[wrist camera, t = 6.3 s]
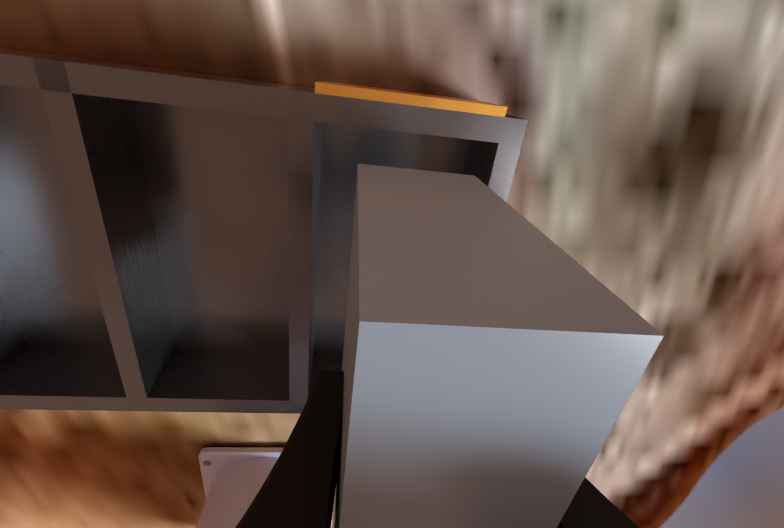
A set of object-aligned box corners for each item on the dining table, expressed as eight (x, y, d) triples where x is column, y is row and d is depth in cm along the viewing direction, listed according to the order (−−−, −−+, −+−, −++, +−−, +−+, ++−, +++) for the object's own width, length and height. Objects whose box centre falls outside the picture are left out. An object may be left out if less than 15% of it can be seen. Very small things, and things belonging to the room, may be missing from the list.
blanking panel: (423, 409, 14) (475, 673, 8) (338, 408, 14) (323, 685, 7) (474, 175, 10) (663, 335, 4) (357, 163, 10) (360, 321, 3)
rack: (434, 361, 21) (449, 415, 18) (25, 347, 19) (-48, 408, 15) (492, 102, 15) (531, 110, 12) (-108, 23, 12) (-283, 4, 9)
